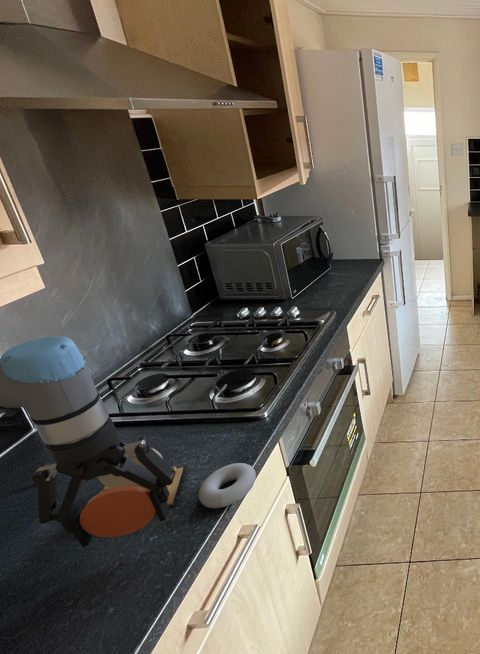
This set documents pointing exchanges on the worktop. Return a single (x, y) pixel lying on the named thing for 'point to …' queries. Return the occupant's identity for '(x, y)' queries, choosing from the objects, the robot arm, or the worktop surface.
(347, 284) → the worktop surface
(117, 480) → the cream coaster
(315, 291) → the worktop surface
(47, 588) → the worktop surface
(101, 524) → the terracotta coaster
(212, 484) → the donut
